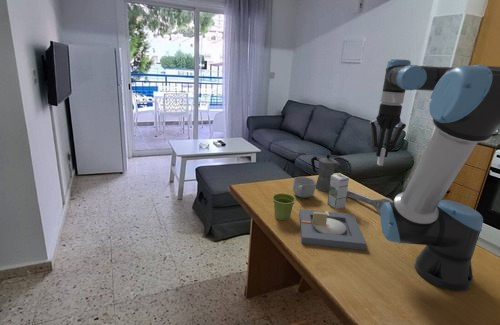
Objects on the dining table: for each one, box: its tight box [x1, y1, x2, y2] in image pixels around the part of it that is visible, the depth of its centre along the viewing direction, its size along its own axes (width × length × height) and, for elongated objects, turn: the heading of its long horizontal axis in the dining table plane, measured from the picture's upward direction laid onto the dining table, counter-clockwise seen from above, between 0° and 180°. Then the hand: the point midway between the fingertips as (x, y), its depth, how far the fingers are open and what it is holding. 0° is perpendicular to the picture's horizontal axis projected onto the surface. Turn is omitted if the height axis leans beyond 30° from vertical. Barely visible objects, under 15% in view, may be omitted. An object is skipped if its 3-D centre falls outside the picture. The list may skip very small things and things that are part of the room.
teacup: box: [292, 176, 317, 199], centre depth 144 cm, size 14×11×8 cm
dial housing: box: [298, 208, 367, 251], centre depth 116 cm, size 22×22×3 cm
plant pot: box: [272, 192, 297, 221], centre depth 123 cm, size 9×9×9 cm
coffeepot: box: [310, 154, 341, 192], centre depth 155 cm, size 15×9×18 cm, turn 55°
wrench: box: [346, 188, 394, 215], centre depth 139 cm, size 8×2×30 cm
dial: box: [312, 212, 346, 235], centre depth 115 cm, size 12×12×6 cm
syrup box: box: [327, 173, 350, 210], centre depth 135 cm, size 6×6×14 cm
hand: (379, 164), depth 118 cm, fingers closed
